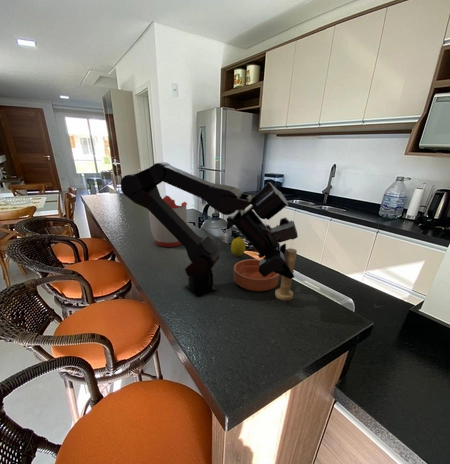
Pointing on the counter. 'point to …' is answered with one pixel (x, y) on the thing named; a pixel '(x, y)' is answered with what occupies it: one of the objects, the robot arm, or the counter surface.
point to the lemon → (238, 246)
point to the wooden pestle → (284, 289)
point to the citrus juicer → (160, 230)
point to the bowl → (253, 276)
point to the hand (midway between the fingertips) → (292, 275)
